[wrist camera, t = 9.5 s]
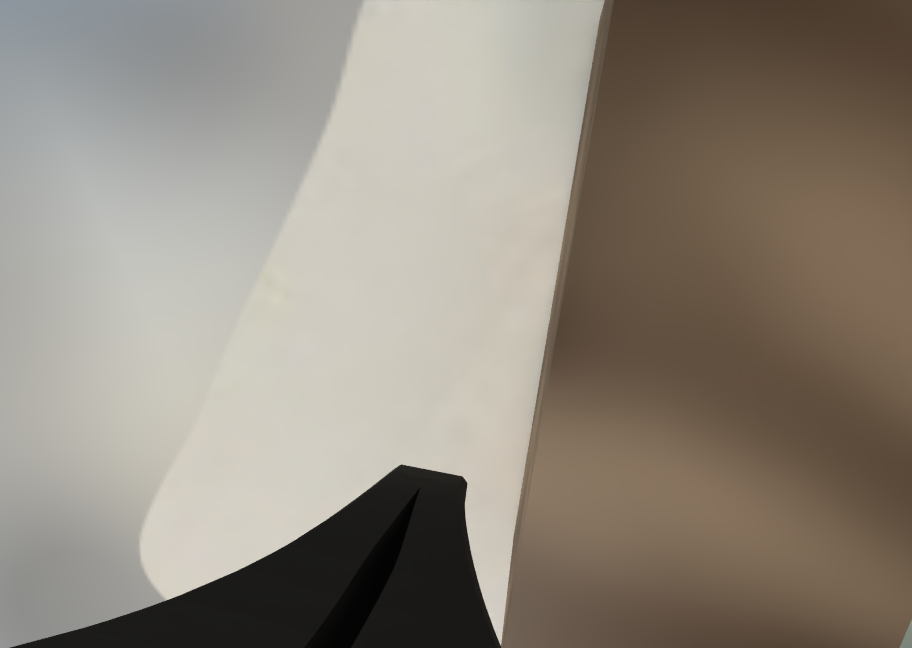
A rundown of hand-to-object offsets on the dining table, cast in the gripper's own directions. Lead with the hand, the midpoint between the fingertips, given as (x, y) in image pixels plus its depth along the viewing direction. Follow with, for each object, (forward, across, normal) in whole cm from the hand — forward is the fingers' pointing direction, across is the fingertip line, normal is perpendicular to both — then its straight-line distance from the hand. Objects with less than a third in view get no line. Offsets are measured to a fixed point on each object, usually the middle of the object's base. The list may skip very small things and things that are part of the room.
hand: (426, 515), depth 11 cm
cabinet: (+9, -6, -2) cm, 12 cm away
